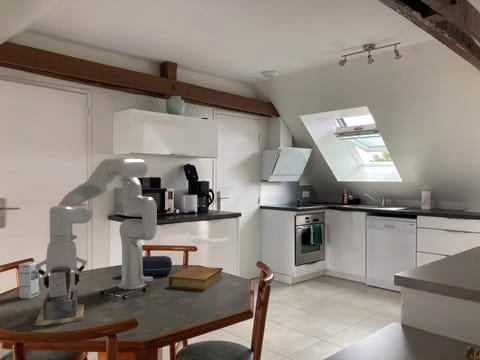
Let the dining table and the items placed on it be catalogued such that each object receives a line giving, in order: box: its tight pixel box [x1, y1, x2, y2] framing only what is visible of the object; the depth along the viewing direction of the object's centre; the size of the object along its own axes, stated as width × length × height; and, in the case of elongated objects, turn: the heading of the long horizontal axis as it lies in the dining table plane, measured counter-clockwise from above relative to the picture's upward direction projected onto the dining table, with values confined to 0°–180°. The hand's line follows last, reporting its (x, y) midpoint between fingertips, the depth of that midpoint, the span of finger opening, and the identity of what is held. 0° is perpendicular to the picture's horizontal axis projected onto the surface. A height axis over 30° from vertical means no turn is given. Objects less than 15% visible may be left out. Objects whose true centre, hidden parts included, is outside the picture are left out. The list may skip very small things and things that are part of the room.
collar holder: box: [34, 289, 85, 327], centre depth 139 cm, size 15×15×7 cm
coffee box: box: [49, 270, 72, 302], centre depth 138 cm, size 9×6×16 cm
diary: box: [168, 265, 224, 291], centre depth 185 cm, size 23×19×6 cm
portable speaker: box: [143, 255, 173, 277], centre depth 200 cm, size 25×10×10 cm, turn 96°
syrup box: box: [18, 261, 41, 299], centre depth 163 cm, size 6×6×14 cm
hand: (62, 285), depth 139 cm, fingers open, 9 cm apart
